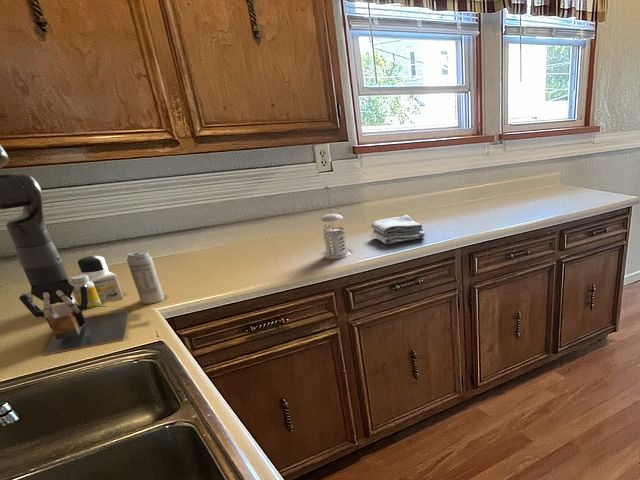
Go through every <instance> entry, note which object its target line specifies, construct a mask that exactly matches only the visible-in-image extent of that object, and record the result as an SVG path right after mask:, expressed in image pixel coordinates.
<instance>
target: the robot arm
mask: <svg viewBox="0 0 640 480" xmlns="http://www.w3.org/2000/svg"><path fill="white" fill-rule="evenodd" d="M9 161H10V158H9V156H8V154H7V152H6V150H5V148H4V147H3V146H2V144H0V169H1V168H4V167H5V166H7V165H8V163H9ZM16 208H22V212H21V214H20V215H18V216H17V217H14V218H12V219H9V220H8V221H6V223H5V226H6V227H5V228H6V230H7V233H8V234H9V237H10V239H11V242H12V243H13V246H14V248H15V251H16V255H17V258H18V260H19V264H20V265H21V268H22V270H23V272H24V273H25V276H26V278H27V280H28V283H29V284H30V285H29V286H30V288H31V289H30V291H28V292H22V293H21V294H20V296H19V298H18V299H19V301H20V302H21V303H22V304H23V305H24V306H25V308H27V310H28V311H29V312H30V313H31V314H32V315H33V316H34V318H45V319H46V321H47V324H48V326H49V328H50V330H52V328H51V326H50V324H49V321H48V317H49V316H50V314H51V312H52V310H53V305H57V304H67V305H68V306H69V307H70V308H71V309H72V310H73V311H74V312H75V317H76V319H77V322H78V324H79V326H80V327H83V326H84V324H85V318H84V317H85V316H84V313H83V311H84V310H88V309H87V307H88V286H87V285H86V284H82V285H74V283H72V281H71V279H70V278H69V275H68V273H67V271H66V268H65V266H64V263H63V261H62V258H61V256H60V254H59V251H58V249H57V248H56V247H57V246H56V245H55V244H54V241H53V240H52V237H51V234H50V233H49V230H48V228H47V225H46V221H45V213H44V198H43V191H42V188H41V186H40V184H39V182H38V181H37V180H36V179H35V178H34V177H33V176H31V175H30V174H28V173H25V172H16V173H7V174H0V211H2V210H3V211H4V210H10V209H16ZM73 289H75V290H77V293H79V294H81V304H80V305H78V303H77V301H76V298H75V297H73V296H72V293H73ZM34 297H35V298H37V299H39V300H40V301H42V302H43V310H42V309H41V308H40V307H39V306H38V305H37V304H36V303H35V301H34V300H35V299H34Z"/></svg>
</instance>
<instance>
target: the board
mask: <svg viewBox="0 0 640 480" xmlns="http://www.w3.org/2000/svg"><path fill="white" fill-rule="evenodd" d="M128 316H129V309H123V310H118V311H117V310H116V311H111V312H106V313H105V312H104V313H101V314H93V315H88V316H84V318H85V324H84V326H83V327H82V328H81V330H80V333H79V336H75V337H69V338H64V339H59V340H57V339H56V337H55V335H54V334H53V336H52V338H51V340H50V342H49V345H48V347H47V349H46V350H45V353H44V354H43V356H44V357H45V356H49V355H55V354H60V353H61V354H62V353H65V352H70V351H77V350H79V349H80V350H81V349H86V348H90V347H91V348H92V347H97V346H102V345H107V344H112V343H117V342H123V341H125V334H126V328H127V322H128V318H129V317H128Z"/></svg>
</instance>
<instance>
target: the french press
mask: <svg viewBox="0 0 640 480" xmlns="http://www.w3.org/2000/svg"><path fill="white" fill-rule="evenodd" d="M324 190H325V191H326V192H327V193H329V190H331V188H330V186H328V185H326V186H324ZM327 199H328V205H329V206H331V204H330V195H329V194H327ZM329 211H330V213H327V214H325V215H323V216H321V218H320V221H321V222H325V223H330V222H331V223H332V226H331V224H328V227H327V226H326V225H323V231H322V235H323V240H324V246H325V252H326V253H325V255H323V257H324V258H325V259H331V260H337V259H344V258H347V257H350V256H351V253H350V251H348V246H347V239H346V232H345V231H344V228H343V227H342V226H334V222H338V221H341V220H344V219H343V218H344V216H342V215H340V214H338V213H333V212H332V208H331V207H329ZM349 255H350V256H349Z"/></svg>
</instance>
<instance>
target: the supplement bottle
mask: <svg viewBox="0 0 640 480" xmlns="http://www.w3.org/2000/svg"><path fill="white" fill-rule="evenodd" d="M88 280H89V277H88V275H86V274H82V273H81V274H76V275H73V276H71V277H70V281H71V282H72V283H73V284H74V285H82V284H86V285H87V286H88V307H87V309H86V310H90V309H95V308H98V307H100V306H101V305H102V302H101V301H100V298H99V296H98V293H97V291H96V288H95V286H94V283H93V282H91V281H88ZM72 293H73V296H74V299H75V301H76V302H77V304H78V305H80V304H81V294H79V293H77V290H75V289H73V292H72Z"/></svg>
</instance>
